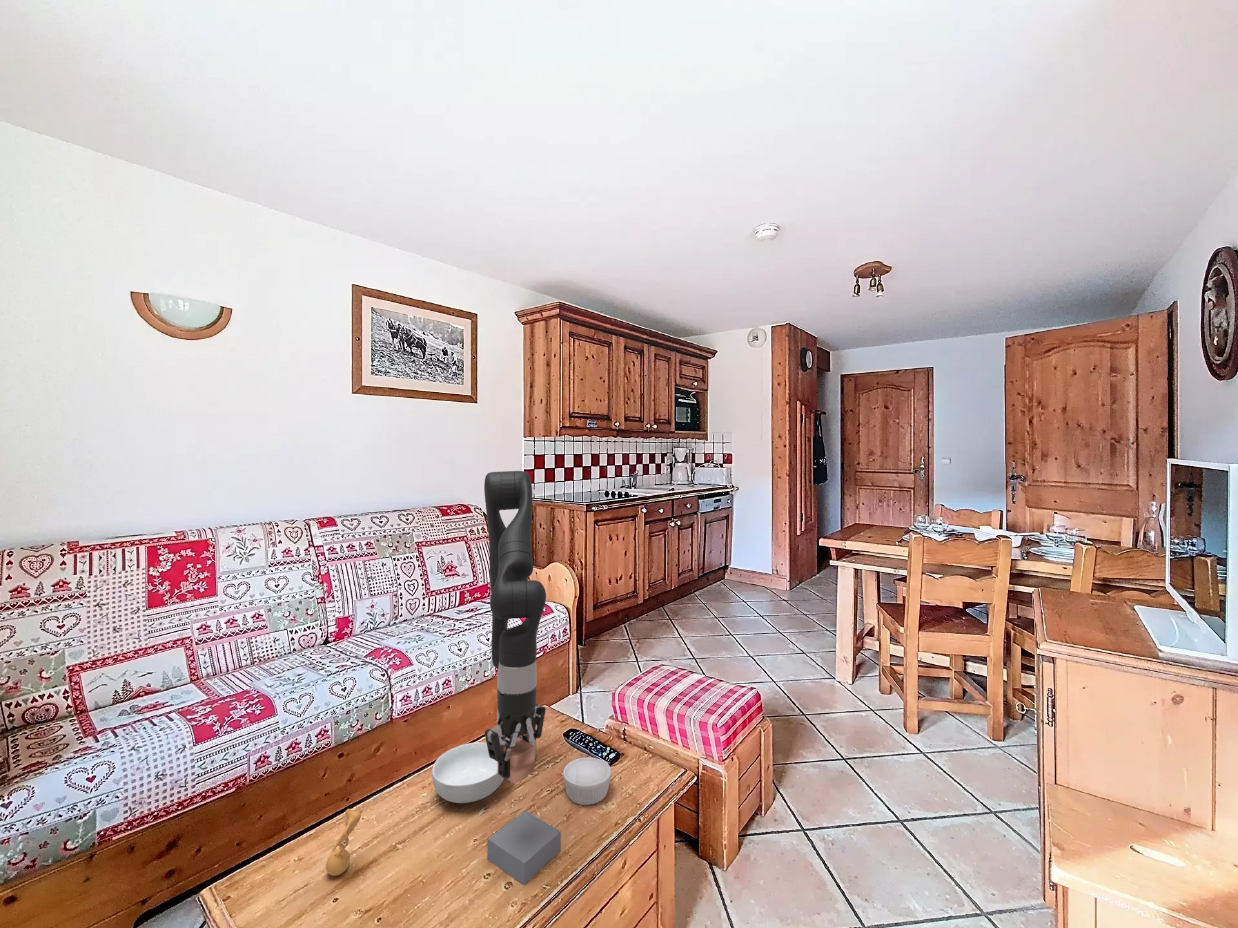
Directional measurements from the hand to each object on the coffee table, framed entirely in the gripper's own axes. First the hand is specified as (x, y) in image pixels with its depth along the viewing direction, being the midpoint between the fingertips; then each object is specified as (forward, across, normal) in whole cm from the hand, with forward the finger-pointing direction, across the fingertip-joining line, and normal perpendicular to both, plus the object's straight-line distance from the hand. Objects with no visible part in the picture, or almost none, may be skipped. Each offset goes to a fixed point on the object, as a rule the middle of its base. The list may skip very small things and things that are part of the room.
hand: (515, 769), depth 99 cm
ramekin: (+18, -23, -1) cm, 29 cm away
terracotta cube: (0, 0, 0) cm, 0 cm away
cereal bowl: (+18, -7, -23) cm, 30 cm away
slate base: (+17, -1, +1) cm, 17 cm away
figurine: (+17, +22, -22) cm, 36 cm away
